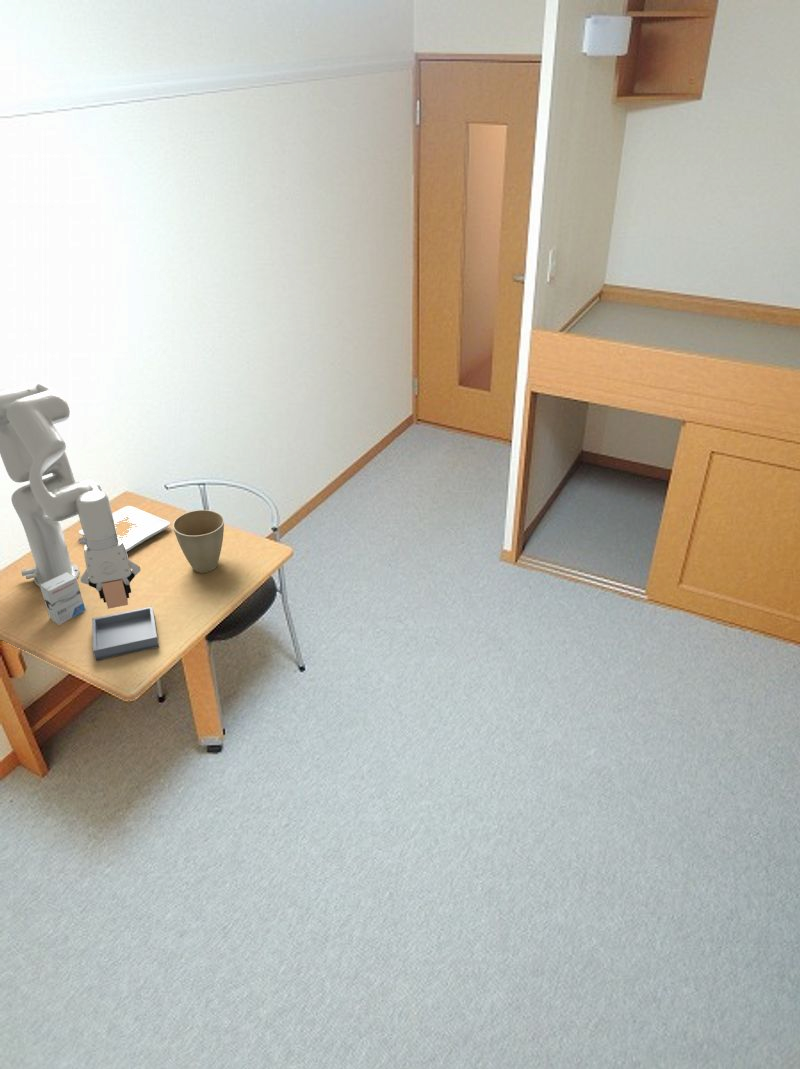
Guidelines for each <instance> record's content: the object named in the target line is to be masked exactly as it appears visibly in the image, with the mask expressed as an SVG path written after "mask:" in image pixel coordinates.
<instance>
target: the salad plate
mask: <svg viewBox="0 0 800 1069" xmlns="http://www.w3.org/2000/svg"><path fill="white" fill-rule="evenodd" d="M112 515H113V519H114V523H115V524H119V523H117V522H119V521H122V520H125V519H127V518H126V517H128V518H129V519H128V520H127V521H123V522H128V521H129V522H128V523H132V524H136V525H132V526H130V527H132V528H129V529H127V530H129V532H128V533H126V534H127V535H124V536H120V535H117V536H118V537H123V538H120V539H122V542H123V544H124V546H125V549H126V552H127V553H128V552H130V550H132V549H134V548H135V547H137V546H139V545H140V544H142V543H143V542H146V541H147V540H149V539H150V538H152V537H154V536H156V535H157V534H159V533H162V531H165V530H166V529H167V528H169V527H170V525H171V521H168V520H166V519H163V518H161V517H158V516H157V515H154V514H151V513H149V512H146V511H145V510H141V509H139V508H137V507H134V506H131V505H127V506H124V507H122V508H120V509H118V510H116V511H114V512H112ZM124 518H125V519H124ZM130 525H131V524H130ZM115 526H116V525H115ZM135 526H137V527H135ZM115 528H117V527H115ZM130 529H131V530H130ZM123 533H124V532H123ZM78 534H79V535H81V536H82V537H83V536H84V533H83V530H82V529H80V530H79V531H78ZM126 536H127V537H126Z"/></svg>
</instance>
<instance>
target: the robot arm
mask: <svg viewBox="0 0 800 1069" xmlns="http://www.w3.org/2000/svg"><path fill="white" fill-rule="evenodd" d="M70 412H71V411H70V407H69V404H68V402H67V401H66V399H65V398H64V396H63V395H62V394H61V393H60V392H59V391H57V390H56V389H54V388H53V387H51V386H48V385H47V384H44V383H42V382H39V381H32V382H26V383H24V384H23V383H22V384H19V385H17V386H12V387H9V388H5V389H4V388H3V389H1V390H0V457H1V459H2V460H1V461H2V463H3V465H4V468H5V471H6V473H7V475H8V476H9V478H10V479H11V480H12V481H13V482H15V483H18V484H19V483H27V482H29V483H27V484H26V485H23V486H21V487H19V488H17V489H16V490H15V491H14V492H13V493H12V494H11V503H12V506H13V509H14V510H15V513H16V514H17V516H18V518H19V521H20V522H21V525H22V527H23V530H24V532H25V536H26V539H27V542H28V545H29V549H30V551H31V554H32V558H33V561H34V564H35V566H32V568H26V569H21V576H22V577H25V579H26V580H30V579H33V580H34V583H35V585H36V586H37V587H39V588H40V585H41V584H43V583H45V582H47V581H49V580H51V579H53V578H56V577H58V576H60V575H62V574H64V573H66V572H68V573H70V574H71V575H73V576H74V577H76V579H77V580H78V577H79V575H80V569H79V568H80V567H79V566H78V565H76V564H75V563H72V562H71V561H72V560H71V557H70V553H69V551H68V546H67V543H66V539H65V535H64V532H63V529H62V525H61V523H60V522H63V521H66V520H68V519H71V518H74V517H75V516H78V518H79V521H80V525H81V530H83V533H84V536H82V537H81V538H80V537H79V538H78V543H79V545H81V544H83V545H84V549H83V554H84V562H85V567H86V569H85V570H84V572H83V573H82V575H81V577H80V583H82V584H85V585H88V586H89V587H92V588H93V589H96V592H98V595H99V598H100V600H103V603H105V604H107V603H106V600H105V596H104V592H103V588H102V584H101V583H103V582H108V581H114V580H119V579H122V580H123V582H124V589H125V593H126V597H127V599H130V594H131V593H132V589H131V582H132V581H133V579H134V578H135V577H136V576H137V575H138V574H139V573H140V572H141V567H140V566H139V565H138V564H137V563H135V562H133V560H130V559H129V556H128V551H127V552H126V549H125V546H124V544H123V542H122V540H121V539H120V538H119V537H118V536H117V532H116V528H115V523H114V519H113V515H112V513H113V511H112V507H111V503H110V498H109V496H108V495H107V493H105V492H103V491H102V488H101V486H100V484H99V483H98V482H96V481H95V480H93V479H90V478H88V479H83V480H79V481H75V477H74V473H73V472H72V468H71V464H70V462H69V459H68V456H67V453H66V452H65V451H66V450H67V445H66V443H65V441H64V440H63V438H62V436H61V435H60V433H59V432H58V430H57V429H56V427H55V426H54V425H55V424H56V425H57V424H59V423H62V422H65V421H66V420H68V419H69V418H70V414H71V413H70ZM50 474H52V476H49V477H46V478H43V477H44V476H47V475H50Z"/></svg>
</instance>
